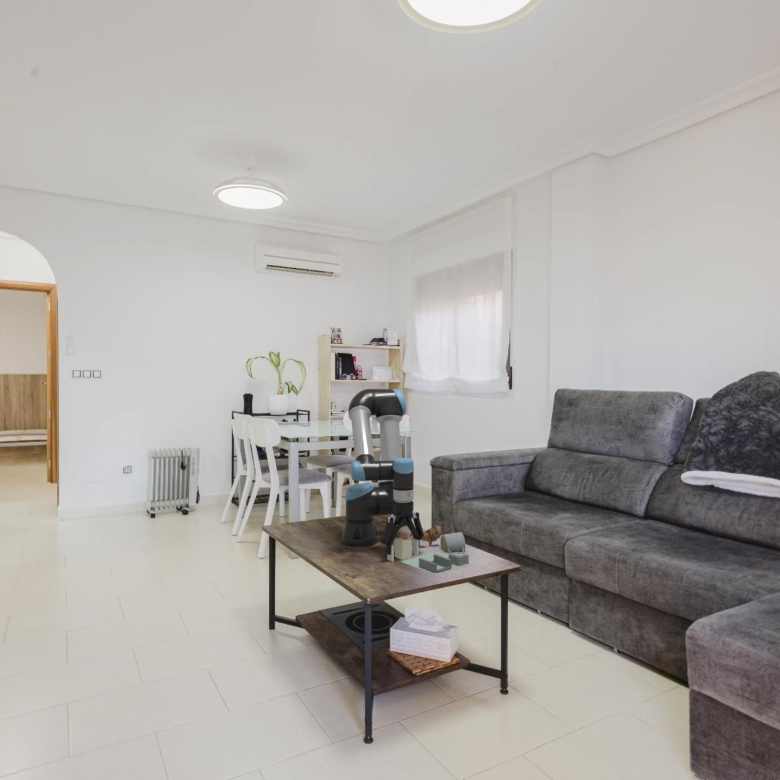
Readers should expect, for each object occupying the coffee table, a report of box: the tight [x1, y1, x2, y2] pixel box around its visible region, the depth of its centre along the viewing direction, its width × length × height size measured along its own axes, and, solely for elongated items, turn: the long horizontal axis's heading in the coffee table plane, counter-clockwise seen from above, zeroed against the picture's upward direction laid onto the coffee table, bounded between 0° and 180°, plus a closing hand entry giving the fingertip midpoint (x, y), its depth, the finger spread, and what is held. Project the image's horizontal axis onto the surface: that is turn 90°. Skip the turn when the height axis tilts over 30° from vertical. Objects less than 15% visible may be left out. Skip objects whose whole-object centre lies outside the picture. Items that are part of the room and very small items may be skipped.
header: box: [419, 554, 452, 574], centre depth 194 cm, size 9×8×3 cm
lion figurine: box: [409, 525, 443, 547], centre depth 222 cm, size 15×5×9 cm, turn 80°
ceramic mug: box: [440, 531, 466, 555], centre depth 213 cm, size 11×8×8 cm
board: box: [399, 551, 471, 576], centre depth 199 cm, size 18×18×1 cm
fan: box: [448, 552, 470, 566], centre depth 199 cm, size 5×5×4 cm
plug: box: [394, 534, 413, 561], centre depth 205 cm, size 4×4×9 cm
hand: (403, 559), depth 205 cm, fingers open, 11 cm apart
